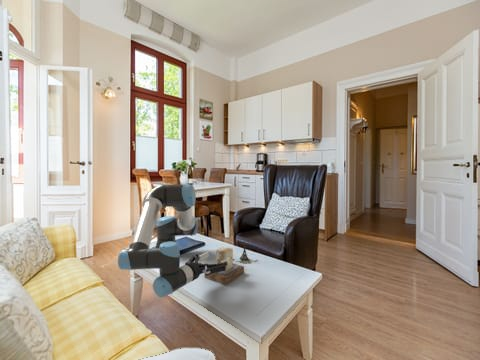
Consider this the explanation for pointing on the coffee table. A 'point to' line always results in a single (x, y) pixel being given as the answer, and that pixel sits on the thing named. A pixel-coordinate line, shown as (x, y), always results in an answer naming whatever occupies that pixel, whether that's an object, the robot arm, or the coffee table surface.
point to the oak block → (225, 256)
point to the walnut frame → (227, 274)
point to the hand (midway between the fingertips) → (218, 257)
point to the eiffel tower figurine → (244, 257)
